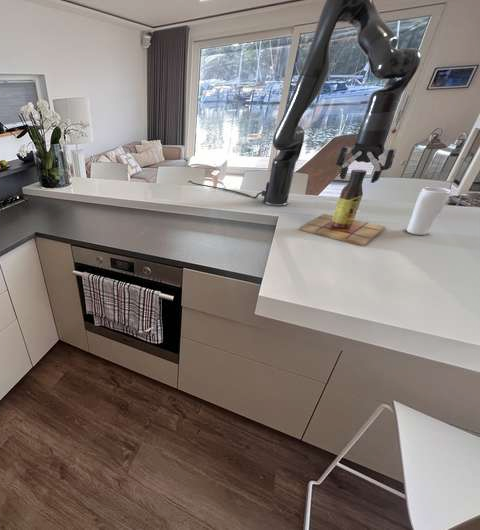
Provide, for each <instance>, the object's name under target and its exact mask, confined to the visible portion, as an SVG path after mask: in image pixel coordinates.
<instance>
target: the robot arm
mask: <svg viewBox="0 0 480 530" xmlns="http://www.w3.org/2000/svg"><path fill="white" fill-rule="evenodd" d="M337 23H338V24H345V23H347V24H349V25H350V26H352V27H353V28H355V30H356V31H357V33H356V43H357V45H358V47H359V49H360V50H361V52H362V53H363V54H364V55H365V57H366V58H367V62H368V67H369V71H370V74H371V76H373V78H375V79H377V80H387V82H386V84H385V85H384V86H383V87H381V88H380V89H377V90H374V91H373V92H372V93H371V95H370V97H369V100H368V103H367V107H366V110H365V113H364V115H363V117H362V120H361V123H360V124H359V129H358V132H357V136H356V139H355V141H354V145H353V147H350V146H347V145H346V146H343V147H342V148H341V149H340V152H339V155H338V158H337V161H336V163H335V165H336V166H337V167H338V166H339V167H341V169H340V173H339V178H340V180H345V179H346V177H347V175H348V171H349V166H350V165H352V163H353V164H354V162H357V163H366V164H369V163H370V164H371V165H372V166H373V167H374V171H373V175H372V177H371V180H370V183H371V184H374V183H375V182H377V181H378V180H380V177H381V175H382V171H387V170H389V169H391V168H392V166H393V162H394V159H395V156H396V153H397V148H392V149H391V148H389V149H387V148H386V149H385V145H386V142H387V139H388V137H389V134H390V131H391V129H392V125H393V122H394V118H395V114H396V110H397V108H398V106H399V103H400V100H401V97H402V95H403V93H404V92H405V90H406V89H407V87H408V86H409V84H410V83H411V81H412V79H414V76H415V75H416V73H417V71H418V70H419V67H420V65H421V61H422V53H421V51H420V50H419V49H418V48H416V47H408V48H397V46H398V44H399V37H398V35H397V34H396V32H395V31H394V30H393V29H392V28H391V27H390V26H389V25H388V24H387V23H386V22H385V21H384V18H382V16H381V14H380V13H379V11H378V8H377V7H376V5H375V3H374V0H325V2H324V4H323V6H322V9H321V12H320V16H319V18H318V22H317V25H316V29H315V32H314V35H313V38H312V41H311V44H310V47H309V50H308V53H307V55H306V58H305V61H304V63H303V66H302V68H301V70H300V73H299V75H298V78H297V79H296V83H295V86H294V89H293V91H292V94H291V96H290V99H289V101H288V104H287V106H286V109H285V110H284V114H283V116H282V118H281V119H280V122H279V123H278V126H277V127H276V130H275V131H274V134H273V136H272V146H273V148H274V149H275V150H276V151H279V152H278V153H277V155H276V156H274V158H273V159H272V163H271V168H270V173H269V178H268V181H267V182H266V185H265V189H263V190H261V192H260V191H259V192H258V193H257V194H256V195H255V196H251V195H249V194H247V193H244V192H241V191H237V190H233V189H232V190H231V189H229V190H228V188H223V187H217V186H212V185H209V184H208V185H207V184H202V183H197V182H194V181H192V180H188V181H187V184H188V183H190V184H191V185H192V184H193V185H195V186H196V185H197V186H202V187H206V188H211V189H217V190H222V189H223V190H222V191H227V192H231V193H235V194H239V195H242V196H245V197H248V198H251V199H257V198H258V196H259V195H260V196H261V197H263V201H262V202H263V203H264V204H265V205H268V206H274V207H283V206H286V205H288V201H289V199H290V197H289V196H290V192H291V188H292V182H293V177H294V172H295V168H296V165H297V161H298V160H299V158H300V156H301V152H302V148H303V146H304V141H305V130H304V128H303V127H302V126H301V125H299V124H300V122H301V119H302V117H303V115H304V114H305V112H306V111H307V110H309V107H310V106H311V105H312V104H313V103H314V101H315V100H316V99H317V98H318V96H319V95H320V93H321V92H322V89H323V87H324V84H325V82H326V81H327V78H328V77H329V73H330V71H331V50H330V49H331V40H332V37H333V33H334V31H335V28H336V26H337ZM349 153H351V154H352V156H351V157H350V158H349V159H347V160H346V157H347V154H349ZM383 154H384V157H386V158H385V162H384V165H383V164H382V161H381V158H380V157H381V156H382V155H383ZM345 160H346V161H345Z"/></svg>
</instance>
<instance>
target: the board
mask: <svg viewBox="0 0 480 530" xmlns="http://www.w3.org/2000/svg"><path fill="white" fill-rule="evenodd" d="M332 219H333V215H331V214H328V213H327V214H326V213H323V214H321V215H320V216H317V217H316V218H314V219H313V220H311V221H309V222H307V223H306V224H304V225H302V226H300V227H299V230H300V231H303V232H307V233H311V234H314V235H319V236H322V237H327V238H331V239H335V240H338V241H343V242H346V243H351V244H353V245H354V244H355V245H357V246H358V245H359V246H362V247H364V246H366V244H368V243H369V242H371V241H372V240H373V239H374V238H376V236H378V235H379V234H380V233H381V232H383V231H384V230H385V228H386V226H385V225H380V224H375V223H370V222H367V221H361V220H356V219H354V221H353V223H352V225H351V227H350V228H338V227H334V226H332V224H331V223H332Z"/></svg>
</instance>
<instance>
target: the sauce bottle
mask: <svg viewBox="0 0 480 530" xmlns="http://www.w3.org/2000/svg"><path fill="white" fill-rule="evenodd" d="M367 172H368V171H367V170H366V169H352V170H351V172H350V177H349V180H348V183H347V184H346V185H345V186H344V187H342V190H341V191H340V195H339V197H338V200H337V202H336V207H335V208H334V213H333V215H332V216H333V219H332V223H331V224H332V226H334V227H338V228H350V227H351V225H352V223H353V221H354V220H355V218H356V215H357V214H358V213H357V212H358V210H359V207H360V204H361V201H362V198H363V195H364V194H363V193H364V191H363V181H364V178H365V176H366V175H367Z"/></svg>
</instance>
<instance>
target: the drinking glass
mask: <svg viewBox="0 0 480 530" xmlns="http://www.w3.org/2000/svg"><path fill="white" fill-rule="evenodd" d="M451 193H452V190H451V189H449V188H445V187H439V186H438V187H437V186H425V187H423V188H421V190H420V192H419V194H418V197H417V198H416V202H415V205H414V208H413V211H412V214H411V217H410V220H409V222H408V225H407V228H406V231H407V232H408V233H410V234H412V235H415V236H416V235H417V236H425V235H427V234H428V233H429V231H430V230H431V227H432V226H433V224H434V223H435V221H436V220H437V219H438V216H439V215H440V213H441V212H442V211H443V209H444V207H445V206H446V204H447V202H448V200H449V198H450V196H451Z"/></svg>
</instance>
